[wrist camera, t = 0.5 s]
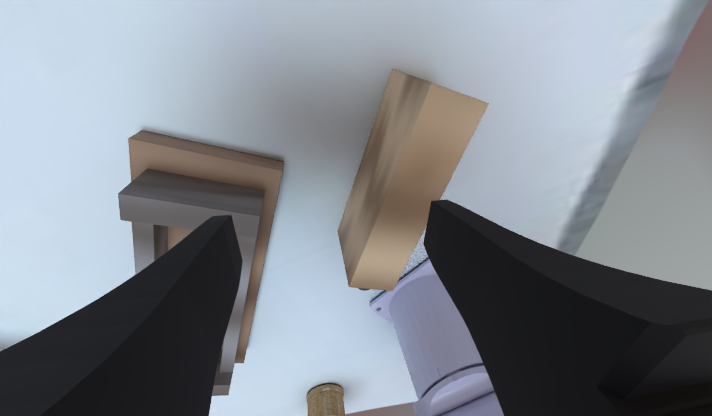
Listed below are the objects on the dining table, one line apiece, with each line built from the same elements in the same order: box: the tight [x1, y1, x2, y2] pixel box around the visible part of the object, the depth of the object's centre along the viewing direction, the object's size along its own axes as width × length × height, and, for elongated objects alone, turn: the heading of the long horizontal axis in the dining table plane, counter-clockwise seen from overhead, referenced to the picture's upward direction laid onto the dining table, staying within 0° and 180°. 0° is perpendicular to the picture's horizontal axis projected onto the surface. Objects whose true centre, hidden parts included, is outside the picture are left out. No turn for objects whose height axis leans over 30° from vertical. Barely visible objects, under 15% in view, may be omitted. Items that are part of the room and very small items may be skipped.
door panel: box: [338, 69, 489, 291], centre depth 18 cm, size 13×3×6 cm, turn 162°
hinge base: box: [118, 131, 284, 396], centre depth 20 cm, size 20×8×4 cm, turn 162°
